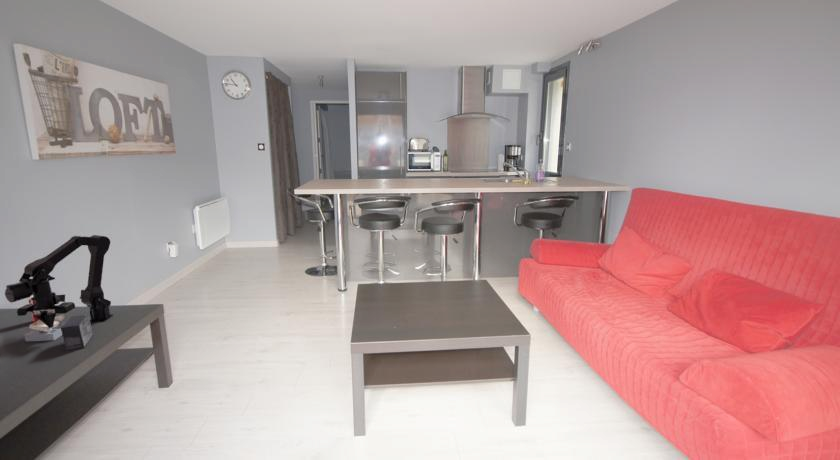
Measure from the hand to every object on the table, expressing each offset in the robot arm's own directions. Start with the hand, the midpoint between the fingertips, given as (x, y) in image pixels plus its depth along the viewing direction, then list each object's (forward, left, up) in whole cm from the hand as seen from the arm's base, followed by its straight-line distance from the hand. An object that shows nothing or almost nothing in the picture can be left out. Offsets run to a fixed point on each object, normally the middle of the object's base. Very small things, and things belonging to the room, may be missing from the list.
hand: (51, 327), depth 171 cm
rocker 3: (+4, -7, 0) cm, 8 cm away
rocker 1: (+4, 0, 0) cm, 4 cm away
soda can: (+18, -18, -5) cm, 25 cm away
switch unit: (+4, -3, -5) cm, 7 cm away
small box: (-14, +6, -5) cm, 16 cm away
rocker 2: (+4, -4, 0) cm, 5 cm away
